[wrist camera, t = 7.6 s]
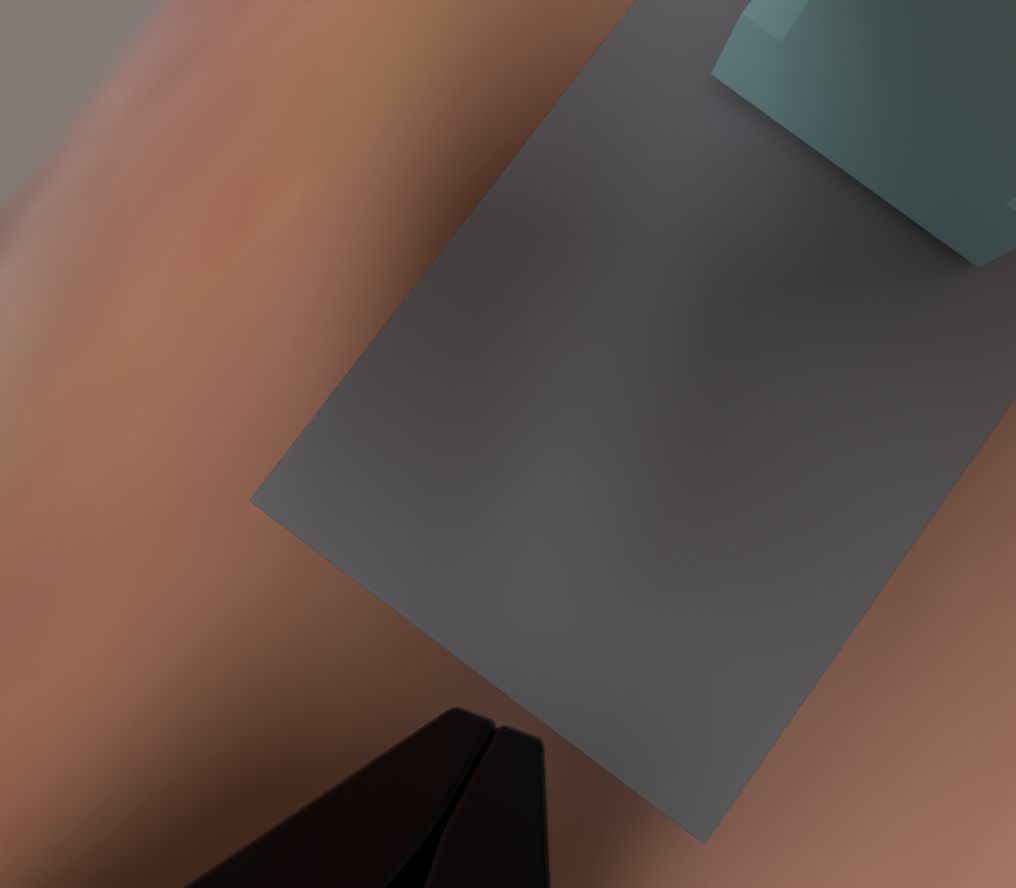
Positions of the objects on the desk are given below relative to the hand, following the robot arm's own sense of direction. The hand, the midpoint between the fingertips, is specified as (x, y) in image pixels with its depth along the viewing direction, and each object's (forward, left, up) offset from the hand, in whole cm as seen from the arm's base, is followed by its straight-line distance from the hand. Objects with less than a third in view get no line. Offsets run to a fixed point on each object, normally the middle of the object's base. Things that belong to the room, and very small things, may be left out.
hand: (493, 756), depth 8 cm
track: (+11, 0, -10) cm, 14 cm away
